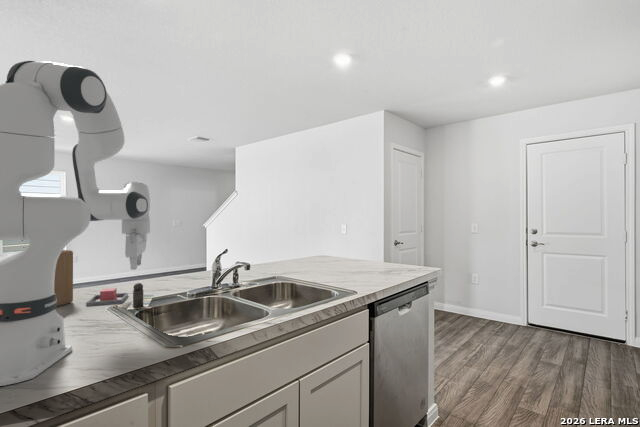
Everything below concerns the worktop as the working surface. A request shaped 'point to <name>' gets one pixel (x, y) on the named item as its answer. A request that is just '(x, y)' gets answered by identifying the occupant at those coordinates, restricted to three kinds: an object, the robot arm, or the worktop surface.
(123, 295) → the dice tray
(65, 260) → the wooden block
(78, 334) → the worktop surface
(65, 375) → the worktop surface
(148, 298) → the board
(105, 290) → the red cube
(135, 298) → the pawn
